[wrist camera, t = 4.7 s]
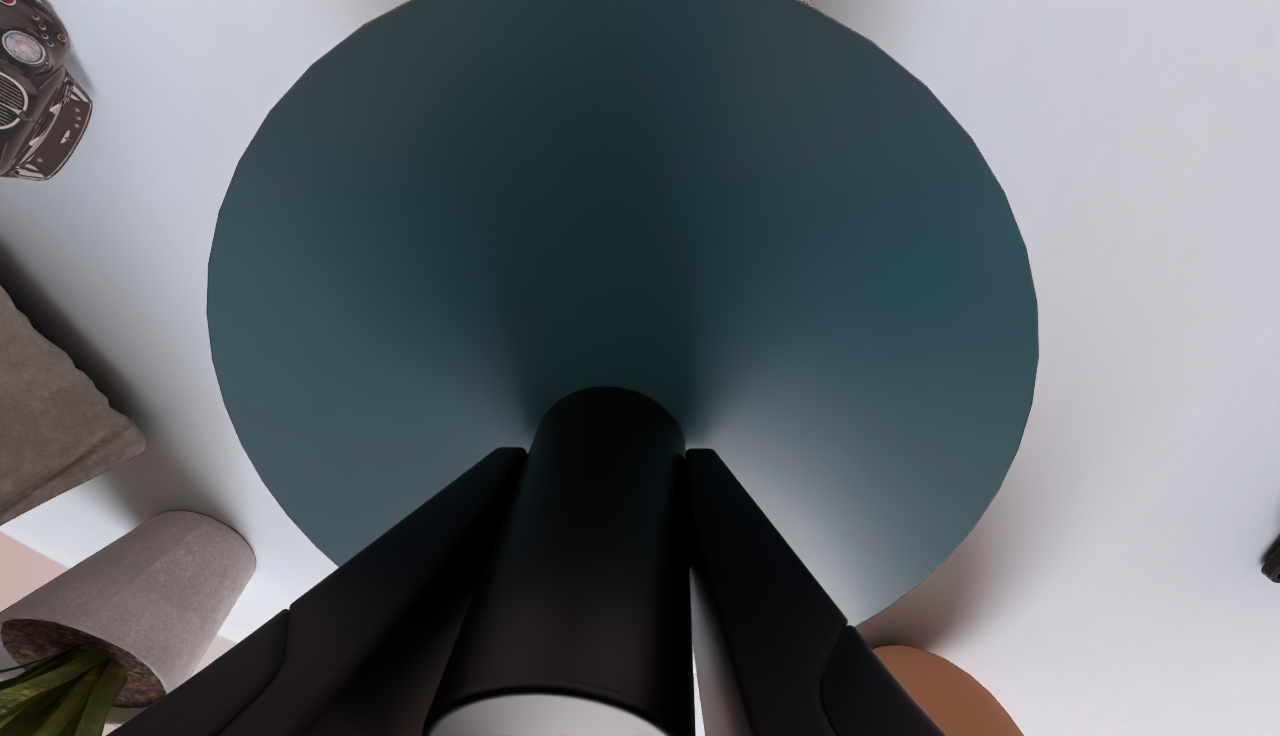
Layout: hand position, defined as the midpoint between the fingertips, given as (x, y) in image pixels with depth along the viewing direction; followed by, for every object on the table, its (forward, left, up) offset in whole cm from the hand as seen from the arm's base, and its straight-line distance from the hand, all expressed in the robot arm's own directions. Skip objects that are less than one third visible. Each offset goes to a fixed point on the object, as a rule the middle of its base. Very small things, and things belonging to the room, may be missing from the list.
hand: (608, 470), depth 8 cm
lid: (0, 0, -1) cm, 1 cm away
